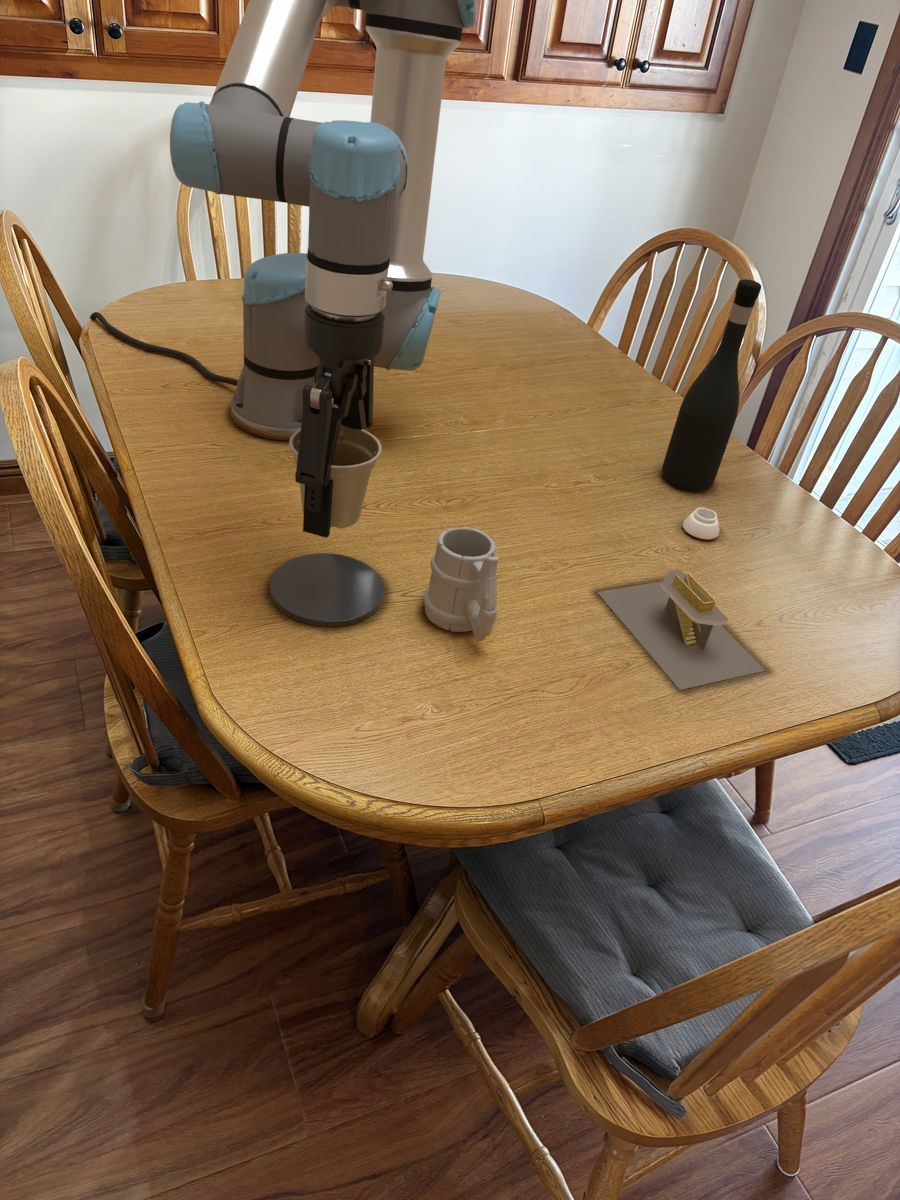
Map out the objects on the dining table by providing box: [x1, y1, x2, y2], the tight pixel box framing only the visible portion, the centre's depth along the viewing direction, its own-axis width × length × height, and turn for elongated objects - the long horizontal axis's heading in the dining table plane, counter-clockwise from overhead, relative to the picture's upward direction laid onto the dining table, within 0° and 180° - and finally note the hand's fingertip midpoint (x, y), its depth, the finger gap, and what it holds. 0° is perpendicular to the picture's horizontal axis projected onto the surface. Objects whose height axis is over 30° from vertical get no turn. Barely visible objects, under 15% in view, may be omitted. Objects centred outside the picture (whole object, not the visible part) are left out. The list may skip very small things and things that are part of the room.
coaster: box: [269, 552, 385, 628], centre depth 108 cm, size 13×13×1 cm
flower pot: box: [288, 425, 383, 530], centre depth 99 cm, size 9×9×9 cm
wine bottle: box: [661, 278, 762, 492], centre depth 132 cm, size 8×8×30 cm
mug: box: [423, 526, 499, 642], centre depth 103 cm, size 8×12×12 cm, turn 23°
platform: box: [596, 569, 766, 691], centre depth 109 cm, size 12×18×7 cm, turn 23°
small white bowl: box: [681, 507, 721, 540], centre depth 129 cm, size 5×3×5 cm
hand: (332, 512), depth 102 cm, fingers closed on flower pot, 8 cm apart
